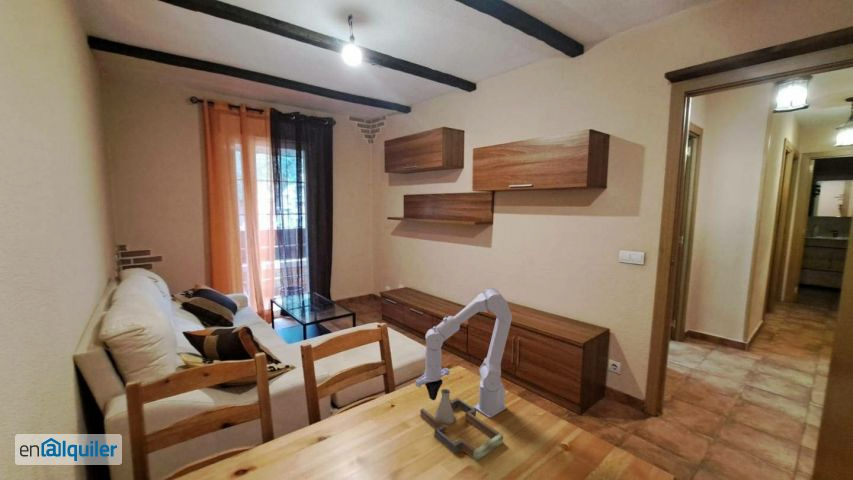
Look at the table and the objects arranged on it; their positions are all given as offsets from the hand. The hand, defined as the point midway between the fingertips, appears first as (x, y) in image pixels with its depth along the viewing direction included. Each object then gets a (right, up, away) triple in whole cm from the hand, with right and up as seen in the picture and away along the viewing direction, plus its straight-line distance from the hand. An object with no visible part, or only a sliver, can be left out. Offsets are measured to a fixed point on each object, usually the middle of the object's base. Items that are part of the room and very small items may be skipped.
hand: (432, 398), depth 124 cm
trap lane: (+9, -5, -10) cm, 14 cm away
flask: (+4, -5, -5) cm, 8 cm away
